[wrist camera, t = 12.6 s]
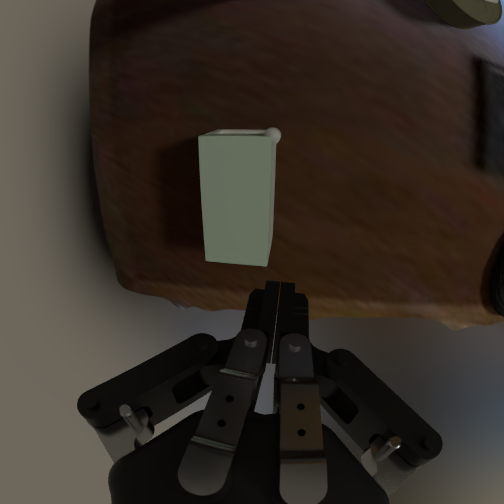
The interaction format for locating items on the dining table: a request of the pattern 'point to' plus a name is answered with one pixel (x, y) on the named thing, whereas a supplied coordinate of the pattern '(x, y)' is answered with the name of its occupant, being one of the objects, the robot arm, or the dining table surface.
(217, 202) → the cover
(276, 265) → the dining table surface
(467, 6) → the can
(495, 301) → the cable lock
